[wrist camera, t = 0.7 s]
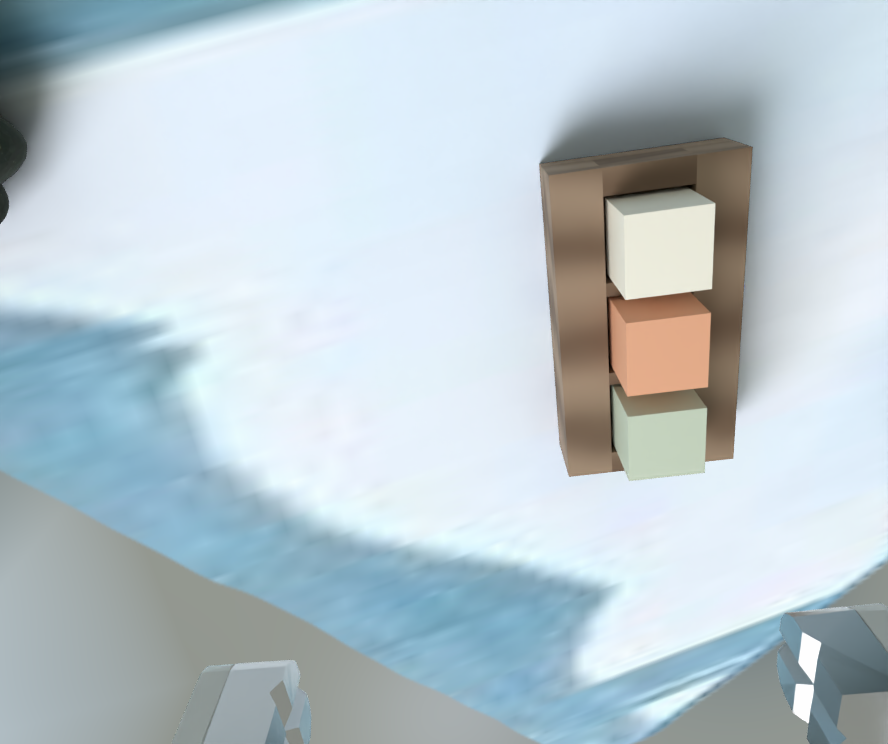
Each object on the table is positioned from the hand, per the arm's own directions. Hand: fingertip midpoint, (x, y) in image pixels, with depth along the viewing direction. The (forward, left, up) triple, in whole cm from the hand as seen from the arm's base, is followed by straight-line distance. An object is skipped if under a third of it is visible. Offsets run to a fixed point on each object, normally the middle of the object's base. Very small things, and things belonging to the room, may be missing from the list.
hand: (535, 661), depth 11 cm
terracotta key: (+9, +11, -34) cm, 37 cm away
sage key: (+16, +11, -34) cm, 39 cm away
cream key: (+3, +11, -34) cm, 36 cm away
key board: (+9, +11, -38) cm, 40 cm away
